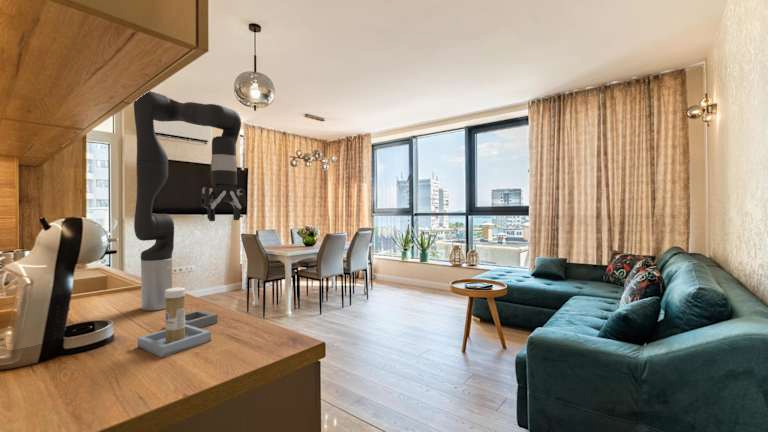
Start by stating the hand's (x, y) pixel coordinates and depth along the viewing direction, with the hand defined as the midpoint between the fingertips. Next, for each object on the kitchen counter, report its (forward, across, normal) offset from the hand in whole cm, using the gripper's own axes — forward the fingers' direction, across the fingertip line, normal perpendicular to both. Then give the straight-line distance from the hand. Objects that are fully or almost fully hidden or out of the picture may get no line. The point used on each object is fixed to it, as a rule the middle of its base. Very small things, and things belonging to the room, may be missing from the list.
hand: (224, 220), depth 111 cm
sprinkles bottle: (+30, +20, +10) cm, 38 cm away
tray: (+31, +20, +10) cm, 38 cm away
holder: (+31, +10, -2) cm, 33 cm away
